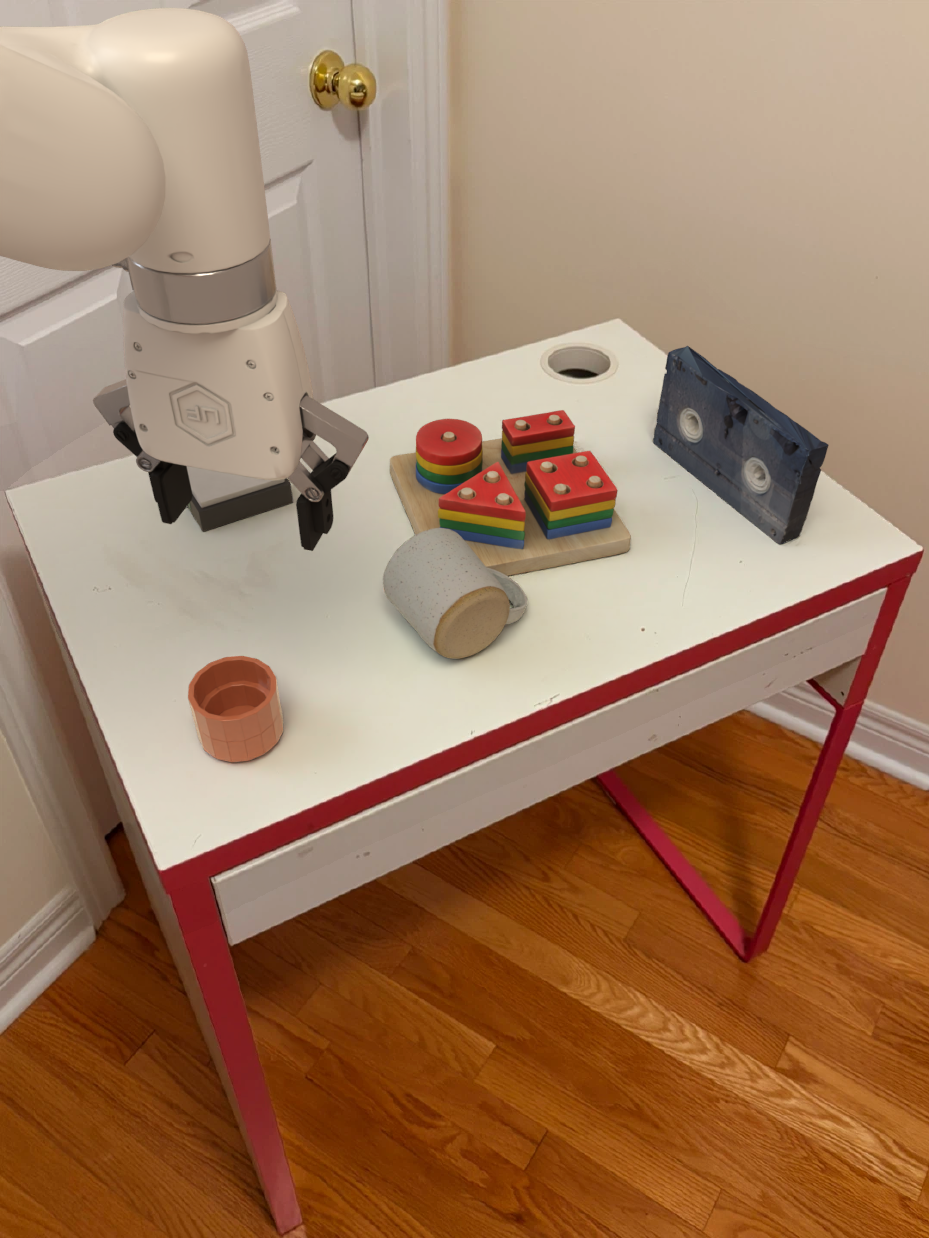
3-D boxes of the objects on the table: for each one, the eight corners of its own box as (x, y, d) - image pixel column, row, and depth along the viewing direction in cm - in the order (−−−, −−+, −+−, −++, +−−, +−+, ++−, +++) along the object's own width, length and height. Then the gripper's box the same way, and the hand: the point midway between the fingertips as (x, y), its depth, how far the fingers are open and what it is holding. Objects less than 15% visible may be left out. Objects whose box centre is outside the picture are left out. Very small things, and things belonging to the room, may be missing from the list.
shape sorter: (631, 553, 91) (640, 497, 87) (438, 591, 87) (438, 534, 83) (559, 441, 103) (564, 387, 99) (387, 470, 99) (385, 416, 95)
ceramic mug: (436, 680, 80) (437, 606, 74) (382, 617, 85) (379, 543, 79) (548, 628, 84) (556, 555, 79) (490, 571, 89) (494, 499, 84)
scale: (202, 532, 92) (197, 507, 90) (170, 481, 98) (164, 456, 96) (293, 502, 95) (290, 477, 93) (257, 454, 101) (253, 430, 99)
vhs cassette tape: (802, 538, 93) (831, 444, 86) (776, 548, 91) (803, 454, 85) (675, 433, 104) (691, 343, 97) (650, 442, 103) (665, 351, 96)
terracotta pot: (185, 756, 74) (172, 710, 71) (221, 695, 79) (210, 648, 75) (264, 774, 73) (255, 728, 70) (296, 711, 77) (289, 665, 74)
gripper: (22, 285, 55) (97, 536, 67) (331, 332, 52) (352, 585, 64) (94, 227, 61) (152, 469, 72) (379, 266, 57) (390, 512, 69)
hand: (246, 524), depth 68 cm, fingers open, 9 cm apart
